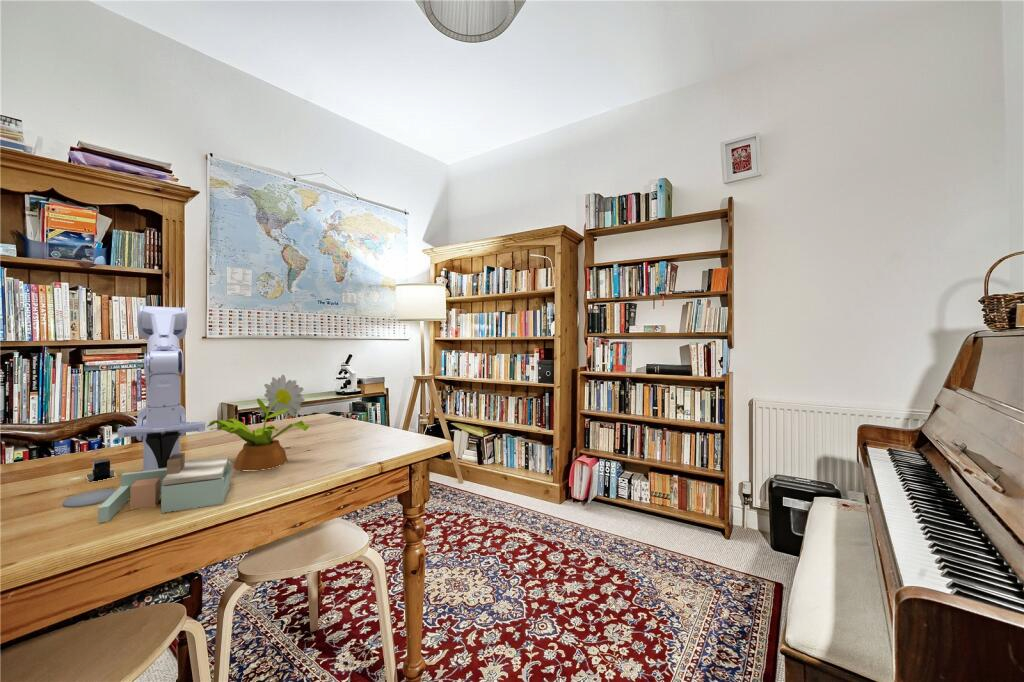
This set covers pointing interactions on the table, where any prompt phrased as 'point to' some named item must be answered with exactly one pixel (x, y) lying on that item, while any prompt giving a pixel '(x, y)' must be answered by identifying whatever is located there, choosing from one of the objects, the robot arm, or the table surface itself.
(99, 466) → the black small block
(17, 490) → the table surface
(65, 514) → the table surface
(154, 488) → the block
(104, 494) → the mat
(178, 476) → the lid
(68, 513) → the table surface
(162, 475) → the sage green u-shaped tray
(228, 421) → the decorative plant
